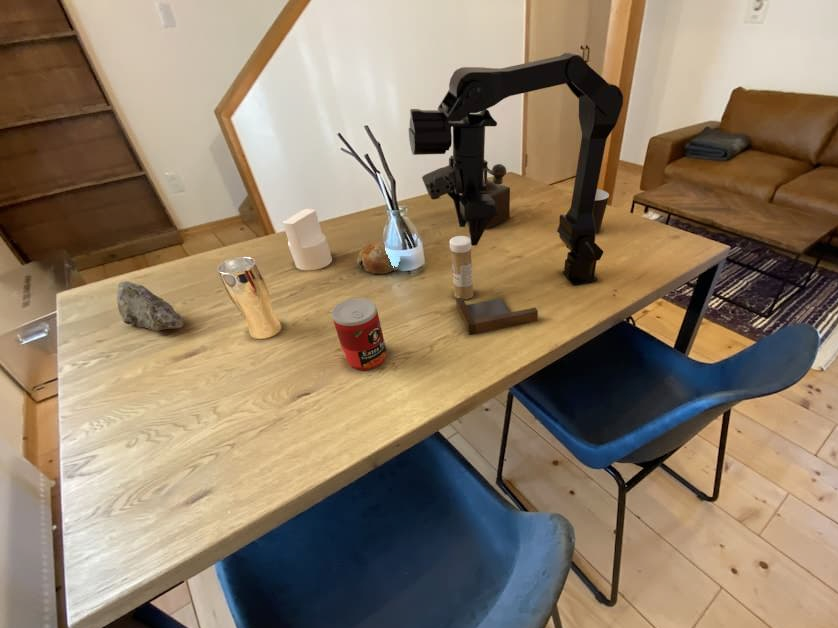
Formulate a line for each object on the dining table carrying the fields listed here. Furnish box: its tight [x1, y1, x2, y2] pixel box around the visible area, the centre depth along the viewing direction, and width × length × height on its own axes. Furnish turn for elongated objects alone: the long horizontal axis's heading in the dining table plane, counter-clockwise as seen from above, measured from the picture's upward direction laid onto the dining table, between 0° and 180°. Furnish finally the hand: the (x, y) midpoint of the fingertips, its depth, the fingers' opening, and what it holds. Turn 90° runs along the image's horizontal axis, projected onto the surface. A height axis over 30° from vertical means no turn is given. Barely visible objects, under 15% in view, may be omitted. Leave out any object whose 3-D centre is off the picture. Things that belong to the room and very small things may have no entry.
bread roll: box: [356, 240, 399, 275], centre depth 109 cm, size 10×10×8 cm
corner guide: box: [455, 297, 539, 336], centre depth 93 cm, size 15×10×2 cm
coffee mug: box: [593, 188, 610, 235], centre depth 123 cm, size 12×9×10 cm
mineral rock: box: [116, 280, 184, 332], centre depth 88 cm, size 13×11×10 cm
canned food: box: [331, 297, 387, 371], centre depth 80 cm, size 8×8×11 cm
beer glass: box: [216, 256, 282, 340], centre depth 85 cm, size 7×7×15 cm
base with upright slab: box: [282, 208, 333, 271], centre depth 108 cm, size 9×9×12 cm
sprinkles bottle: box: [449, 235, 475, 301], centre depth 95 cm, size 5×5×14 cm
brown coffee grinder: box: [466, 160, 511, 229], centre depth 124 cm, size 16×11×18 cm
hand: (467, 235), depth 89 cm, fingers open, 9 cm apart
